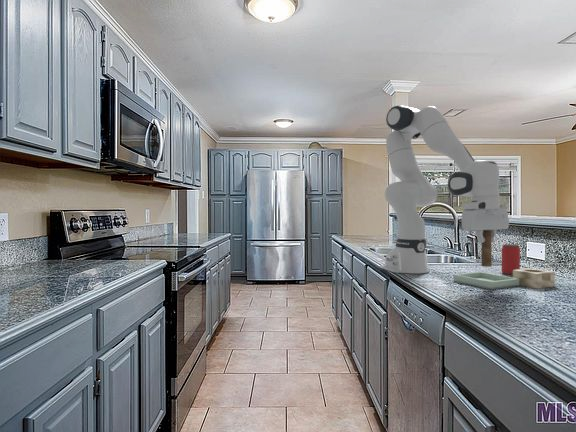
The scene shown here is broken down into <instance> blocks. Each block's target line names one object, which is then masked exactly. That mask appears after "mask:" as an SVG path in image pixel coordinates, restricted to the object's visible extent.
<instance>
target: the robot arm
mask: <svg viewBox="0 0 576 432" xmlns="http://www.w3.org/2000/svg"><path fill="white" fill-rule="evenodd" d="M385 119H386V120H385V121H386V125H387V126H388V127H389V129H391V130H392V131H391V132H389V134H388V135H387V137H386V140H385V142H386V145H385V146H386V153H387V157H388V161H389V165H390V169H391V172H392V174H393V175H394V176H395V177H396V178H398V179H399V181H396V182H392V183H389V184H388V185H387V187H386V188H385V191H384V198H385V200H386V202H387V203H388V205H390V207H391V208H392V210H393V211H394V213H395V215H396V220H397V230H398V232H397V234H398V235H397V236H398V237H397V239H394V243H396V244H395V246H394V247H393V249H391V251H389V252H388V253H387V254H386V255H385V260H384V261H385V262H384V264H381V265H379V268H380V269H383V270H385V271H389V272H392V273H396V274H397V273H400V274H427V273H429V272H430V267H429V265H428V257H427V251H426V248H427V239H426V223H425V221H426V220H424V218H423V217H421V216H420V214H419V212H418V210H417V209H418V208H423V207H428V206H430V205H433V204H434V203H435V202H436V201H437V199H438V189H437V187H436V186H435V185H434V184H432V183H431V182H430V181H429V180H428V179H427V178H426V176H425V174H424V173H423V172H422V170H421V169H420V167H419V164H418V161H417V158H416V155H415V152H414V148H413V144H412V139H413V140H415V139H418V138H419V137H420V136H421V137H422V139H423V141H424V142H425V145H426V146H427V147H428V148H429V149H430V150H432V151H433V152H435V153H438V154H441V155H443V156H445V157H448V158H449V159H450V160H452V161H453V162H454V163H455V164H456V165H457V168H458V169H459V171H455V172H452V174H450V176H449V178H448V181H447V188H448V191H449V192H450V194H451V195H454V196H456V197H465V198H467V197H468V198H469V197H470V198H472V199H471V200H468V201H466V202H464V203H462V204H461V209H462V210H463V211H462V213H461V228H462V230H463V231H466V232H467V231H468V232H469V231H470V232H473V231H475V236H476V237H477V243H479V244H481V243H485V238H483V235H482V233H483V230H491V243H494V242H495V238H496V235H497V232H498V231H497V230H508V228H509V226H510V220H509V218H510V217H509V213H508V210H507V207H506V206H505V205H504V204H503V203H502V204H501V201H500V199H501V198H500V191H499V187H500V184H501V183H500V182H501V181H500V168H499V165H498V163H497V162H496V161H494V160H481V159H477V160H475V159H474V157H473V156H472V155H471V153H470V152H469V150H468V149H467V148H466V146H465V145H464V144H463V143H462V141H461V139H459V138H458V136H457V135H456V133H455V132H454V130H453V129H452V127H451V126H450V124H449V122H448V120H447V119H446V117H445V116H444V114H443V113H442V112H441V110H439V109H438V108H437V107H436V106H433V105H432V106H431V105H428V106H424V107H423V108H421V109H418V108H415V107H411V106H406V105H400V104H399V105H395V106H392V107H391V108H390V109H389V110H388V112H387V114H386V118H385Z"/></svg>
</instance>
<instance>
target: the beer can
mask: <svg viewBox="0 0 576 432" xmlns="http://www.w3.org/2000/svg"><path fill="white" fill-rule="evenodd" d="M517 269H521V250H520V247H519V245H518V244H512V243H511V244H510V243H507V244H506V243H504V244H503V245H502V247H501V273H503V274H505V275H509V276H510V275H512V276H513V270H517Z"/></svg>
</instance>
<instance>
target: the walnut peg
mask: <svg viewBox="0 0 576 432" xmlns="http://www.w3.org/2000/svg"><path fill="white" fill-rule="evenodd" d="M482 235H483V238H485V243H480V244H481V246H480V247H481V267H486V268H488V267H489V268H490V267H492V266H493V265H492V258H493V257H492V242H491V230H483V233H482Z"/></svg>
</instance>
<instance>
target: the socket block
mask: <svg viewBox="0 0 576 432" xmlns="http://www.w3.org/2000/svg"><path fill="white" fill-rule="evenodd" d="M555 277H556V275H555V271H550V270H545V269H537V268H530V267H529V268H527V267H526V268H520V269H517V270H513V275H512V278H517V279H519V286H523V287H528V288H532V289H533V288H534V289H544V288H550V287H555V286H556V285H555V280H556V279H555Z"/></svg>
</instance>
